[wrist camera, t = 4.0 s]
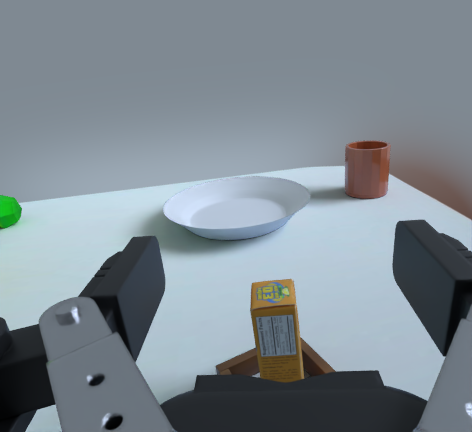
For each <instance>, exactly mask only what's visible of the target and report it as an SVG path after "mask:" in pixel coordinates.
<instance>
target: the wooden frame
mask: <svg viewBox="0 0 472 432" xmlns="http://www.w3.org/2000/svg"><path fill="white" fill-rule="evenodd" d="M300 341H301V351H302V361H303V368H304V369H305V370H306V371H307V372H308V373H309V374H310V375H311V377H313V376H317V375H321V374H325V373H329V372H336V371H335V370H334V369H333V368H332V367H331V366H330V365H329V364H328V363H327V362H326V361H325V360H323V359H322V358H321V357H320V356H319V355H318V354H317V353H316V352H315V351H314V350H313V349H312V348H311V347H310V346H309V345H308V344H307V343H306V342H305V341H304V340H303V339H302V338H301V337H300ZM216 372H217V375H231V374H241V375H247V376H252V375H254V374H256V373H258V372H260V371H259V365H258V358H257V352H256V348H254V349H252V350H249V351H247V352H245V353H243V354H241V355H239V356H236V357H234V358H232V359H230V360H228V361H225V362H223V363H221V364H219V365H217V366H216Z"/></svg>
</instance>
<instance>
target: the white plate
mask: <svg viewBox="0 0 472 432" xmlns="http://www.w3.org/2000/svg"><path fill="white" fill-rule="evenodd" d="M309 199H310V193H309V191H308V190H307V188H305V187H304V186H303V185H301V184H299V183H296V182H294V181H290V180H286V179H281V178H274V177H259V176H252V177H235V178H227V179H220V180H215V181H210V182H206V183H202V184H199V185H196V186H193V187H190V188H187V189H185V190H183V191H181V192H179V193H177V194H175V195H174V196H172V197H171V198H170V199H169V200H168V201H167V202H166V203H165V205H164V207H163V211H164V214H165V215H166V217H167V218H169V219H170V220H172V221H173V222H175V223H178V224H180V225H182V226H183V227H185V228H186V229H188V230H190V231H191V232H193V233H194V234H196V235H198V236H201V237H204V238H209V239H215V240H241V239H248V238H254V237H258V236H262V235H265V234H268V233H271V232H273V231H275V230H277V229H279V228H280V227H282V226H283V225H284V224H285V223H286V222H287V221H288V220H289V219H290V218H291V217H292V216H293V215H294V214H295V213H297V212H298V211H299V210H301V209H302V208H303V207H304V206H305V205H306V204H307V203H308V201H309Z"/></svg>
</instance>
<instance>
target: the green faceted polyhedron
mask: <svg viewBox="0 0 472 432" xmlns="http://www.w3.org/2000/svg"><path fill="white" fill-rule="evenodd" d="M21 211H22V208H21V207H20V205H19V204H18V202H17V201H16V199H15V198H13V197H8V196H3V195H0V227H1V228H7V227H8V226H10V225H12V224H14V223H16V222H17V221H18V220H19V219H20V217H21Z"/></svg>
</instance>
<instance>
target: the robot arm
mask: <svg viewBox="0 0 472 432" xmlns="http://www.w3.org/2000/svg"><path fill="white" fill-rule="evenodd" d="M393 274H394V278H395V281H396V283H397V285H398V286H399V288H400V289H401V291H402V292H403V294H404V296H405V297H406V299H407V300H408V302H409V303H410V305H411V307H412V308H413V310H414V311H415V313H416V314H417V316H418V317H419V319H420V321H421V322H422V324H423V325H424V327H425V328H426V330H427V332H428V333H429V335H430V336H431V338H432V339H433V341H434V343H435V344H436V346H437V347H438V349H439V350H440V352H441V353H442V355H443V356H446V358H445V360H444V363H443V365H442V368H441V370H440V373H439V375H438V378H437V380H436V383H435V385H434V388H433V390H432V393H431V395H430V397H429V400H428V401H426V400H424V399H422V398H420V397H418V396H416V395H414V394H411V393H409V392H406V391H403V390H400V389H396V388H393V387H389V386H384V384H383V381H382V379H381V376H380V374H379V371H342V372H329V373H325V374H321V375H317V376H313V377H309V378H305V379H301V380H297V381H293V382H278V381H273V380H268V379H262V378H257V377H252V376H247V375H241V374H231V375H197V378H196V383H195V388H194V390H192V391H189V392H186V393H183V394H180V395H178V396H175V397H173V398H171V399H169V400H167V401H166V402H164V403H162V404H161V405H159V403H158V402H157V400H156V398H155V396H154V395H153V393H152V391H151V389H150V388H149V386H148V384H147V382H146V381H145V379H144V377H143V375H142V374H141V372H140V370H139V368H138V367H137V365H136V363H135V362H136V360H137V358H138V355H139V353H140V350H141V348H142V345H143V343H144V340H145V338H146V336H147V333H148V331H149V328H150V326H151V323H152V321H153V318H154V316H155V314H156V311H157V309H158V306H159V304H160V301H161V299H162V297H163V294H164V291H165V274H164V269H163V264H162V259H161V254H160V249H159V244H158V240H157V238H156V236H143V237H133V238H132V239H131V240H130V242H129V243H128V244H127V246H126V247H125V248H124V250H123V251H122V252H117V253H116V254H114V255H113V256H111V257H110V258H108V259H107V260H106V261H105V263H104V264H103V265H102V266H101V268H100V270H98V272H97V273H96V274H95V275H94V276H95V277H93V278H92V279H91V281H90V282H89V283H88V284H87V286H86V287H85V288H84V290H83V291H82V292H81V293H80V295H79V296H78V297H75V298H70V299H67V300H64V301H61V302H59V303H57V304H55V305H53V306H52V307H50V308H49V309H47V310H46V311H45V312H44V313H43V314H42V315H41V317H40V319H39V324H37V325H33V326H29V327H25V328H20V329H16V330H12V331H9V328H8V326H7V324H6V321H5V320H4V319H3V318H1V317H0V432H25V431H26V429H27V427H28V425H29V424H30V422H31V420H32V418H33V417H34V415H35V413H36V411H37V410H38V409H41V408H44V407H48V406H51V405H55V404H56V408H57V412H58V416H59V420H60V424H61V428H62V432H472V252H471V251H468V248H466V247H465V246H464V245H463V244H462V243H461V242H459V241H458V240H456V239H454V238H452V237H450V236H448V235H445V234H443V233H438V232H437V231H436V230H435V229H434V228H433V227H432V226H430V225H429V224H428V223H427V222H426V221H425V220H409V221H399V222H398V223H397V225H396V229H395V241H394V253H393Z"/></svg>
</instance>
